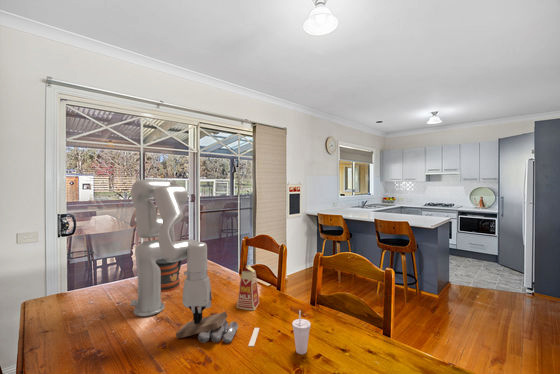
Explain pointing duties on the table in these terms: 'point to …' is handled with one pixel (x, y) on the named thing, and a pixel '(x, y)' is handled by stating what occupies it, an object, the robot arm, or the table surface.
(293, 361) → the table surface
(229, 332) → the roller
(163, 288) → the beer stein
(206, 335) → the roller
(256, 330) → the strip
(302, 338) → the smoothie
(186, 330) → the slab
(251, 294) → the milk carton
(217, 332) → the roller
